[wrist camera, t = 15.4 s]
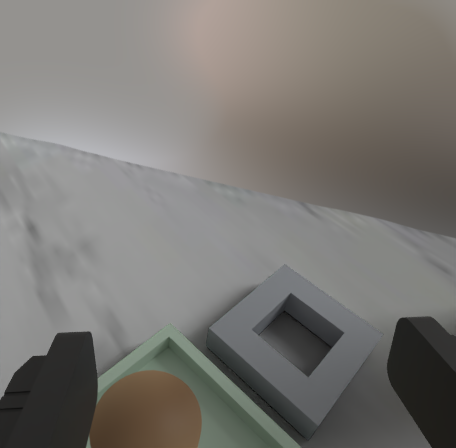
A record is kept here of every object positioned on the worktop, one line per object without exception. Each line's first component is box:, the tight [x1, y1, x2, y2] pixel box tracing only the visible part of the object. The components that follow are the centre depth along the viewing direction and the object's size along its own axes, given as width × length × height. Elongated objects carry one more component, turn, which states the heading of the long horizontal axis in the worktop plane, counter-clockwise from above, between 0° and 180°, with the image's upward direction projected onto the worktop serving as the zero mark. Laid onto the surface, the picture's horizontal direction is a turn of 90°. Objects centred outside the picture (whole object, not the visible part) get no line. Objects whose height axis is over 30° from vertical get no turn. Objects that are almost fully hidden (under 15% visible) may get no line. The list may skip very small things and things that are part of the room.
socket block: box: [206, 264, 383, 440], centre depth 38 cm, size 12×12×3 cm
